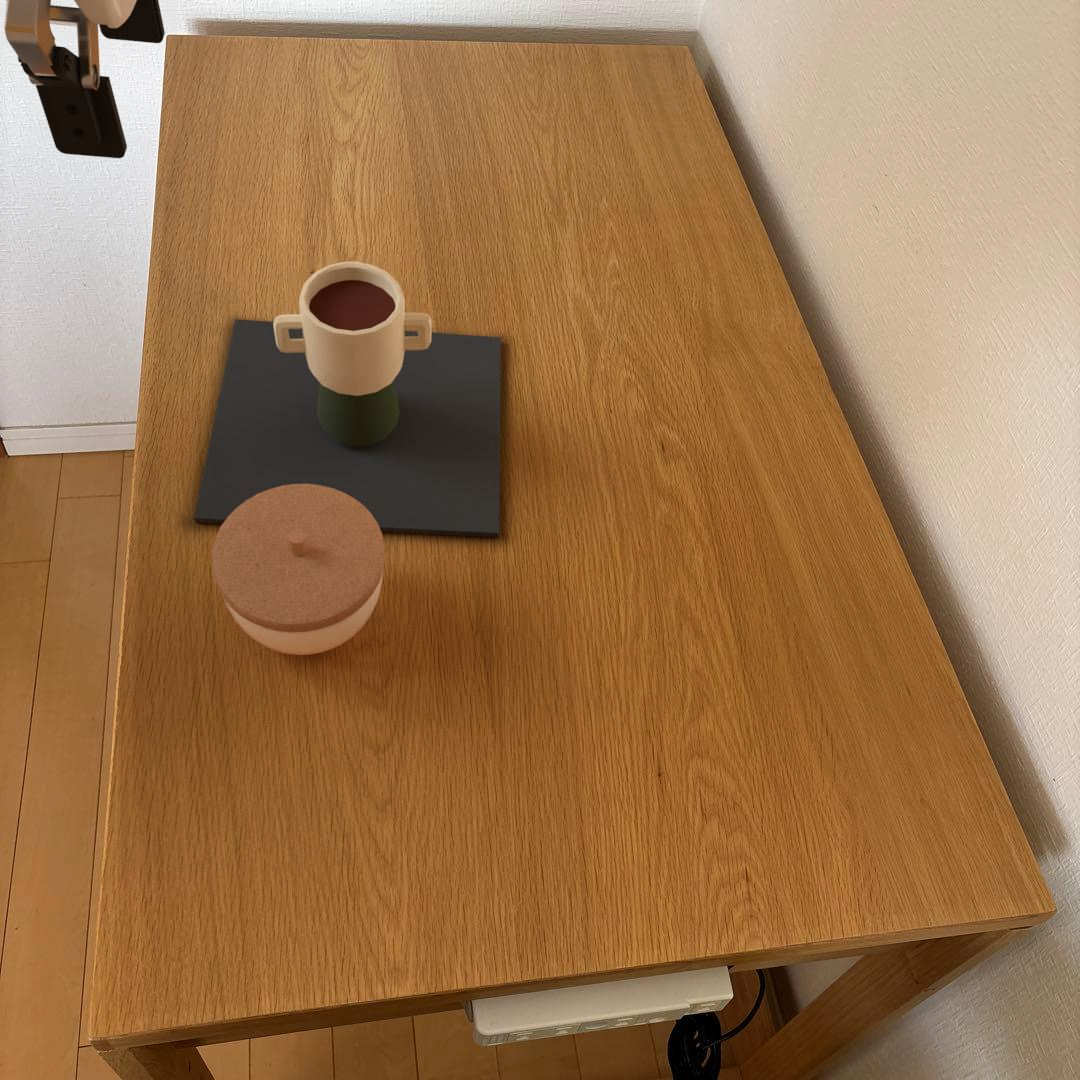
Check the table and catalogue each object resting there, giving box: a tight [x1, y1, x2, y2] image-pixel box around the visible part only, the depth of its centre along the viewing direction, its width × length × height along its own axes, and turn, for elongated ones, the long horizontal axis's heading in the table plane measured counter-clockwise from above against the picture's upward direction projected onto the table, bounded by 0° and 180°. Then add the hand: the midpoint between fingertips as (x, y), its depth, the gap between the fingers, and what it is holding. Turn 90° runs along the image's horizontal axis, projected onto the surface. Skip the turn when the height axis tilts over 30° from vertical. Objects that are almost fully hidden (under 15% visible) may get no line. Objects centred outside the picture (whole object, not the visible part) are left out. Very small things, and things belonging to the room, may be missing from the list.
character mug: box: [272, 261, 433, 447], centre depth 75 cm, size 11×7×13 cm, turn 98°
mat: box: [193, 318, 502, 538], centre depth 80 cm, size 22×20×1 cm
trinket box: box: [211, 484, 386, 656], centre depth 67 cm, size 11×11×9 cm
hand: (114, 92), depth 52 cm, fingers open, 9 cm apart
